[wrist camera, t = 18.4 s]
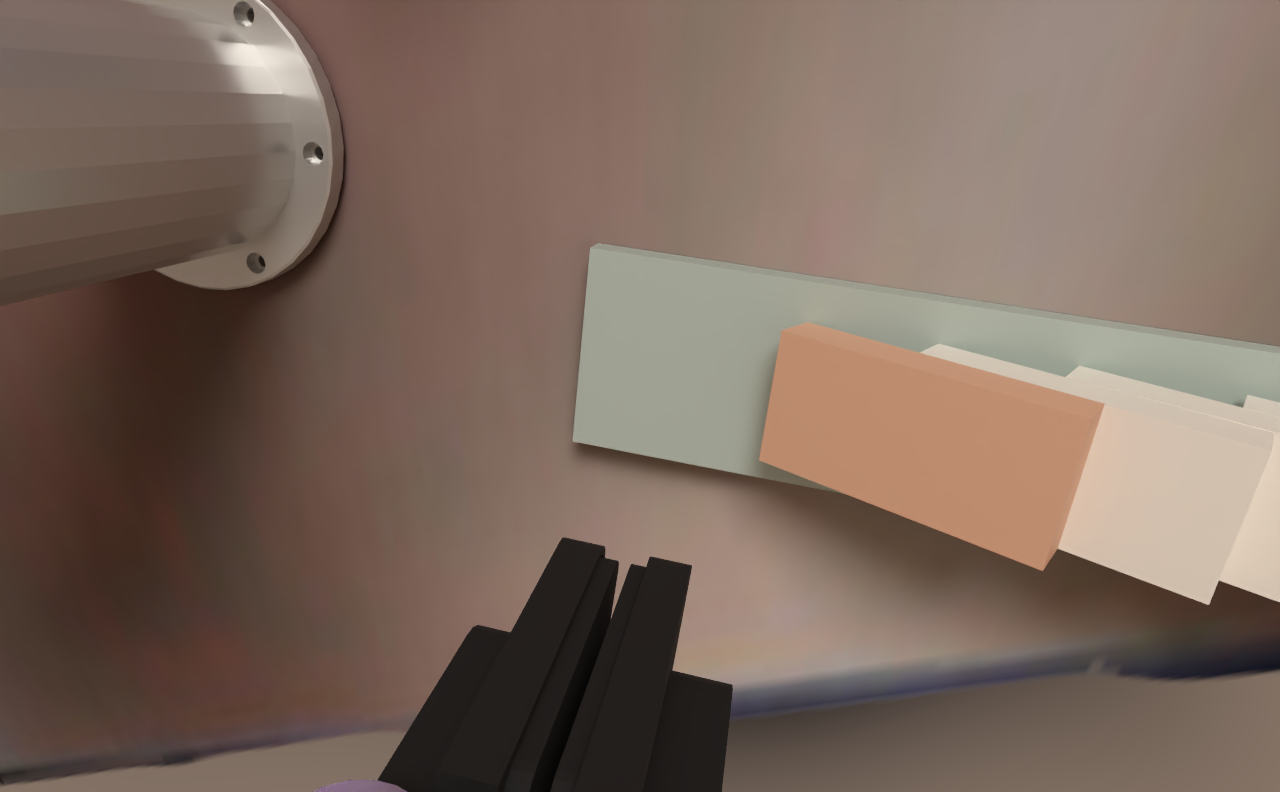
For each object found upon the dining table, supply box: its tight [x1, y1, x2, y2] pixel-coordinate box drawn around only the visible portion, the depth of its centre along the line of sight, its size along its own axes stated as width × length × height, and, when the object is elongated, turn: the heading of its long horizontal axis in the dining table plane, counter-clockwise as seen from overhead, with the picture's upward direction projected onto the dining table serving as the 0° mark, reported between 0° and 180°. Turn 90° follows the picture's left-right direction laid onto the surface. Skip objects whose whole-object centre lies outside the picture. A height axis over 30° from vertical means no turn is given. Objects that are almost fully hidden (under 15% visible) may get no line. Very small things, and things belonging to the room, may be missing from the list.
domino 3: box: [1066, 366, 1280, 602], centre depth 26 cm, size 2×5×10 cm
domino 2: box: [920, 344, 1274, 605], centre depth 27 cm, size 2×5×10 cm
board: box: [573, 243, 1280, 495], centre depth 31 cm, size 27×8×1 cm, turn 83°
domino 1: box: [759, 322, 1105, 571], centre depth 28 cm, size 2×5×10 cm
